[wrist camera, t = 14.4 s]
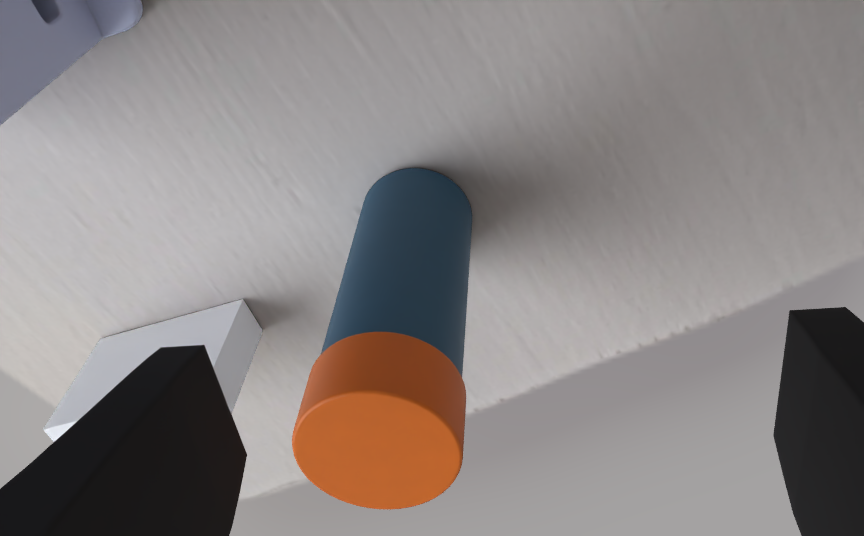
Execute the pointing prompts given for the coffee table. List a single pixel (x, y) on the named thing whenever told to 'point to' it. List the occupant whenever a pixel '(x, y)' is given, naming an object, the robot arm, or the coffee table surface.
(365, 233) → the glue stick
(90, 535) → the robot arm
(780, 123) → the coffee table surface
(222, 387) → the eraser
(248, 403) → the coffee table surface
